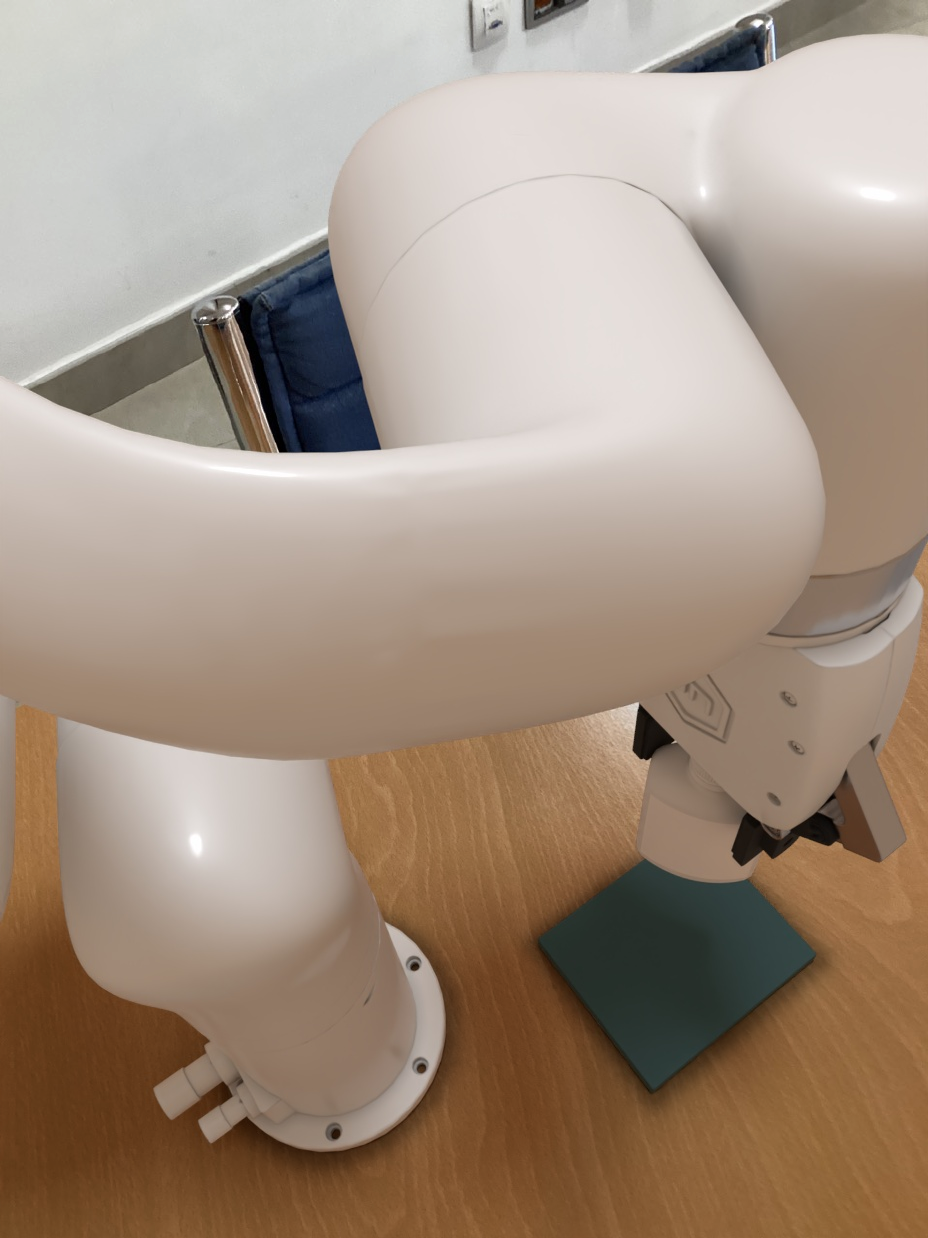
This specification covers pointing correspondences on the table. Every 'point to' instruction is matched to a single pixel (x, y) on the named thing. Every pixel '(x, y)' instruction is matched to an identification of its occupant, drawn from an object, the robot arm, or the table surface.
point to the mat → (673, 963)
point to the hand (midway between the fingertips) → (712, 786)
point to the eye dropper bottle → (689, 821)
